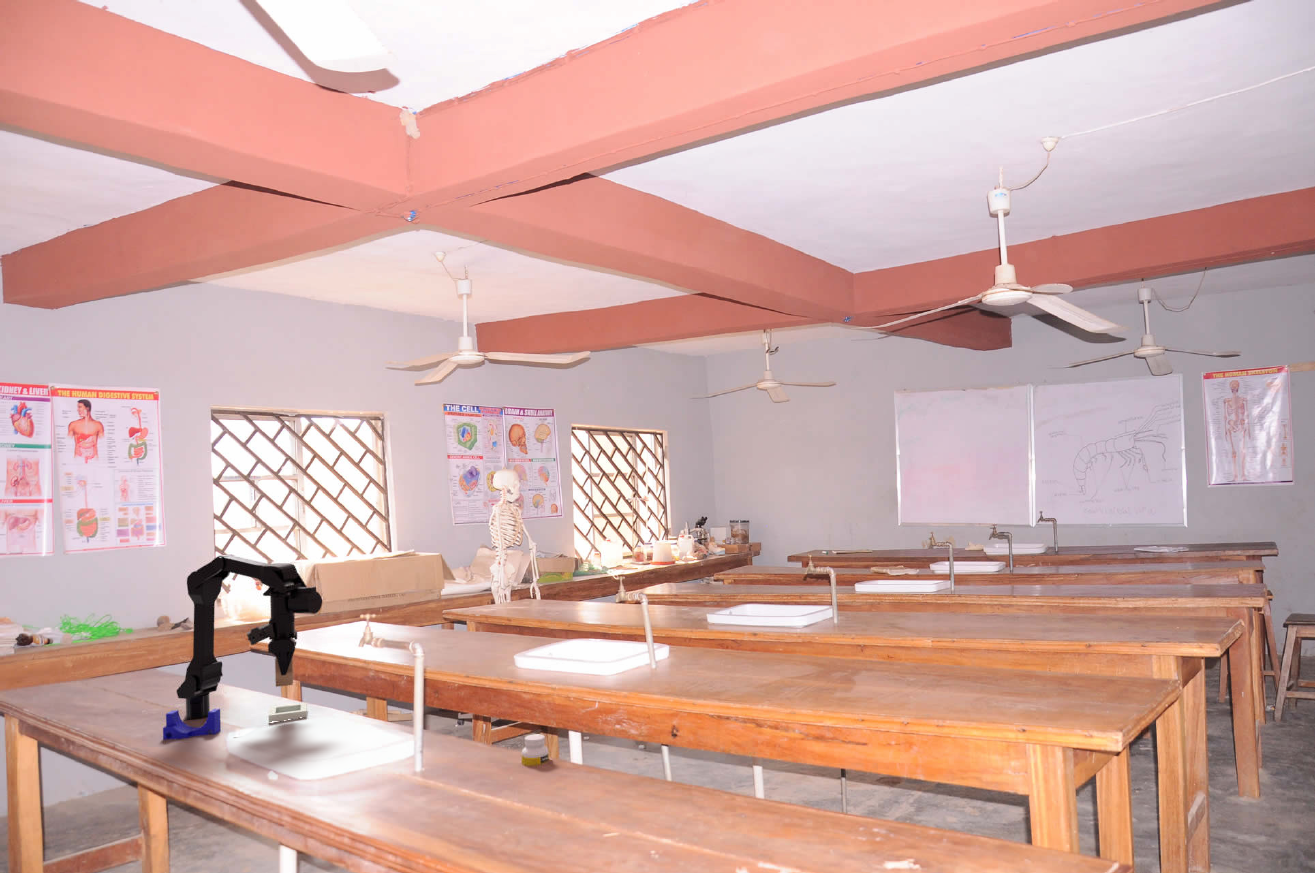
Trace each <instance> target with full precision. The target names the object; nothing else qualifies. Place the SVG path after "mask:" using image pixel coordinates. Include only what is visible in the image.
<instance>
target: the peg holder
mask: <svg viewBox="0 0 1315 873" xmlns="http://www.w3.org/2000/svg"><path fill="white" fill-rule="evenodd" d="M300 717H307V718H308V702H300V703H291V704H290V703H289V704H284V705H282V704H281V705H275V706H270V707H269V711H268V723H269V722H272V721H284V720H288V719H296V720H298V719H297V718H300ZM284 722H285V721H284Z"/></svg>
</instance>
